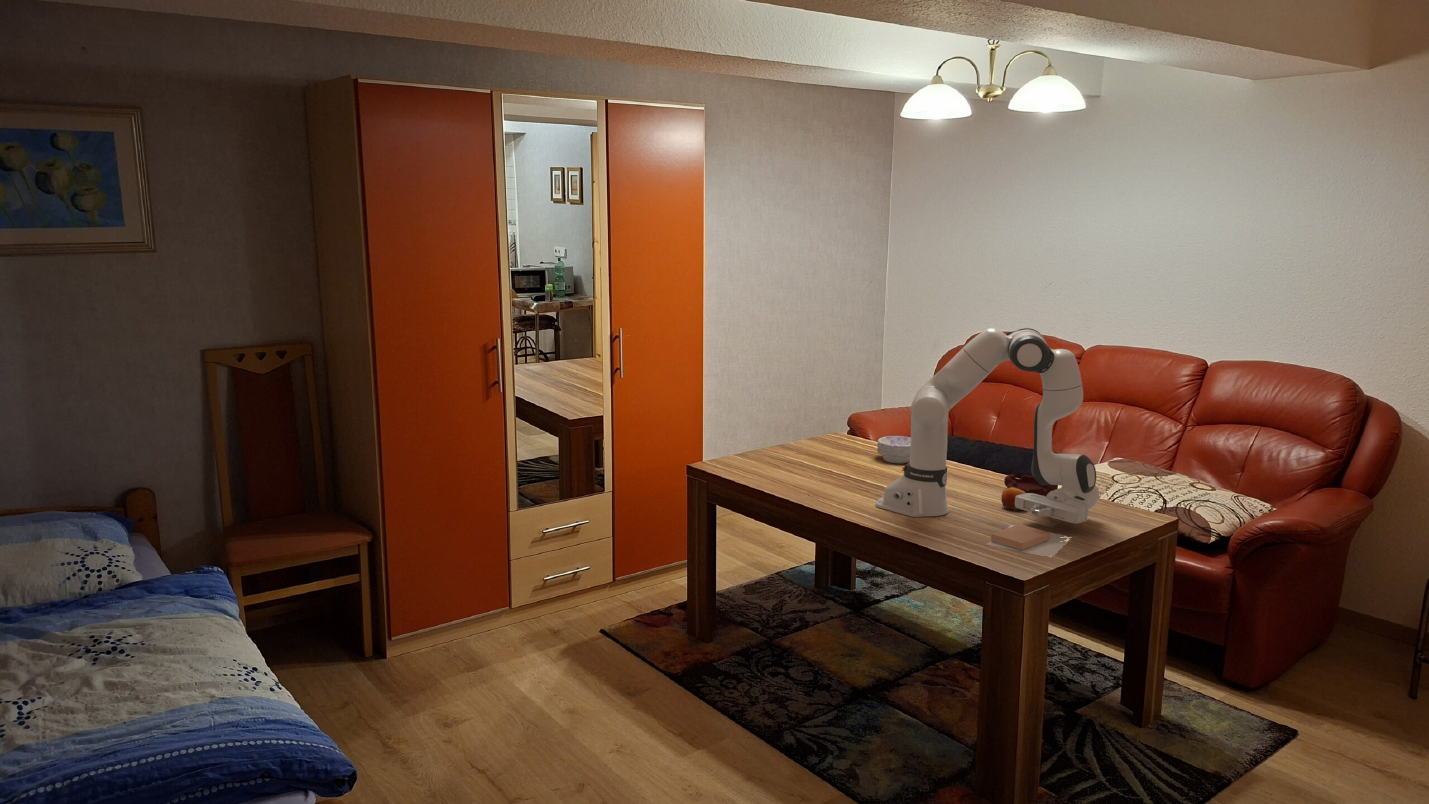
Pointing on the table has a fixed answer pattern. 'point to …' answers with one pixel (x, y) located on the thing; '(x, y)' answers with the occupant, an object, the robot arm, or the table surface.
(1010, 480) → the ashtray
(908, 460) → the white patterned bowl
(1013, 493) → the fruit
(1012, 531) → the tile
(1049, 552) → the mat
